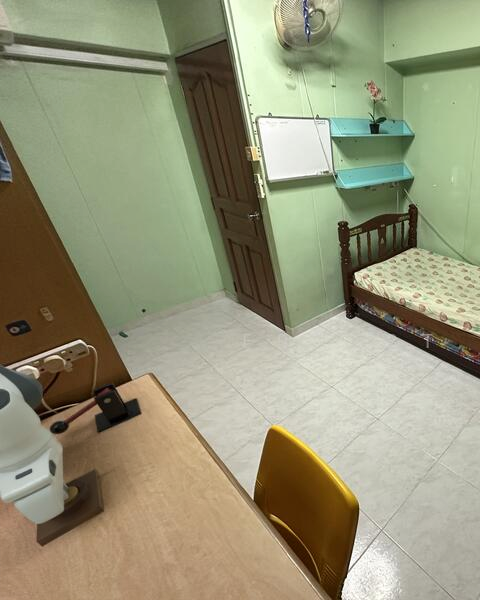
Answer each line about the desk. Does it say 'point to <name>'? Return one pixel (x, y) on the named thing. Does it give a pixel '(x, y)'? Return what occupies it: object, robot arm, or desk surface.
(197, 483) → the desk surface
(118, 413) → the black lever base
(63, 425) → the lever
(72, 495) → the bell button
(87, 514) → the brown button pad
